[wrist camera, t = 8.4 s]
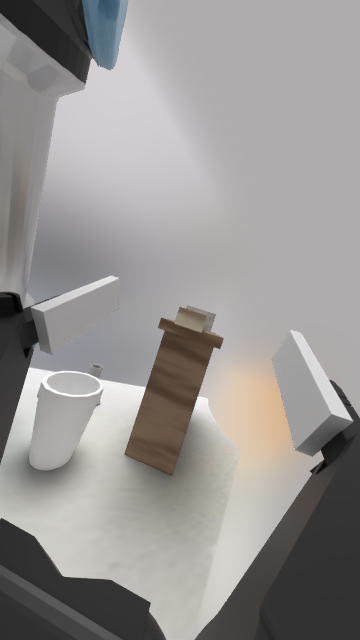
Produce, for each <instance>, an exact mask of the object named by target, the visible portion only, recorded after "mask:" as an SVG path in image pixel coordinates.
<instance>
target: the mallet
mask: <svg viewBox="0 0 360 640" xmlns="http://www.w3.org/2000/svg"><path fill="white" fill-rule="evenodd" d="M215 316H216V315H215V314H213V313H210V312H206V311H203V310H200V309H197V308H194V307H191V306H187V308H186V309H185V308H182V307H180V308H179V311H178V314H177V317H176V320H175V323H174V324H177V325H180V326H183V327H186V328H189V329H192V330H195V331H198V332H201V333H202V331H203V330H205V331H208V332H210V331H211V328H212V325H213V322H214V319H215Z"/></svg>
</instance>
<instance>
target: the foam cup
mask: <svg viewBox="0 0 360 640" xmlns="http://www.w3.org/2000/svg"><path fill="white" fill-rule="evenodd" d="M103 389H104V388H103V383H102V382H101V381H100V380H99V379H98V378H96V377H94V376H92V375H90V374H86V373H81V372H75V371H61V372H53V373H51V374H49V375H46V376H45V377H44V378H43V380H42V382H41V385H40V388H39V391H38V394H37V397H38V402H37V409H36V415H35V421H34V427H33V434H32V440H31V446H30V453H29V461H30V464H31V466H33V467H34V468H36V469H38V470H46V471H49V470H53V469H57V468H59V467H61V466H63V465H64V464H66V463H67V462H68V461H69V459H70V458H71V457H72V454H73V453H74V451H75V449H76V447H77V445H78V442H79V440H80V438H81V436H82V434H83V432H84V430H85V428H86V426H87V424H88V421H89V419H90V417H91V415H92V413H93V411H94V409H95V407H96V405H97V403H98V402H99V401H100V398H101V395H102V392H103Z"/></svg>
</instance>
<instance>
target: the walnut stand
mask: <svg viewBox="0 0 360 640" xmlns="http://www.w3.org/2000/svg"><path fill="white" fill-rule="evenodd" d="M174 323H175V321H174V320H169V319H164V318H161V320H160V323H159V326H158V328H160V329H163V330H165V332H164V335H163V338H162V341H161V344H160V347H159V350H158V353H157V356H156V359H155V362H154V365H153V368H152V371H151V374H150V378H149V381H148V384H147V387H146V390H145V393H144V396H143V399H142V402H141V405H140V408H139V411H138V414H137V417H136V420H135V424H134V427H133V430H132V433H131V436H130V439H129V442H128V445H127V448H126V451H125V455H128V456H130V457H132V458H134V459H136V460H139V461H141V462H143V463H145V464H147V465H150V466H152V467H154V468H156V469H158V470H161V471H163V472H165V473H167V474H169V475H172V473H173V470H174V467H175V464H176V461H177V458H178V455H179V452H180V449H181V446H182V443H183V439H184V436H185V433H186V430H187V427H188V424H189V421H190V418H191V415H192V412H193V409H194V406H195V403H196V400H197V397H198V394H199V390H200V388H201V385H202V382H203V378H204V375H205V372H206V369H207V366H208V363H209V360H210V357H211V354H212V351H213V348H214V347H216V348H219V349H220V348H221V345H222V342H223V338H222V337H220V336H219V335H217V334H215V333H212V332H208V331H205V330H203V331H202V333H201V332H198V331H195V330H192V329H189V328H186V327H183V326H180V325H177V324H174Z"/></svg>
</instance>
